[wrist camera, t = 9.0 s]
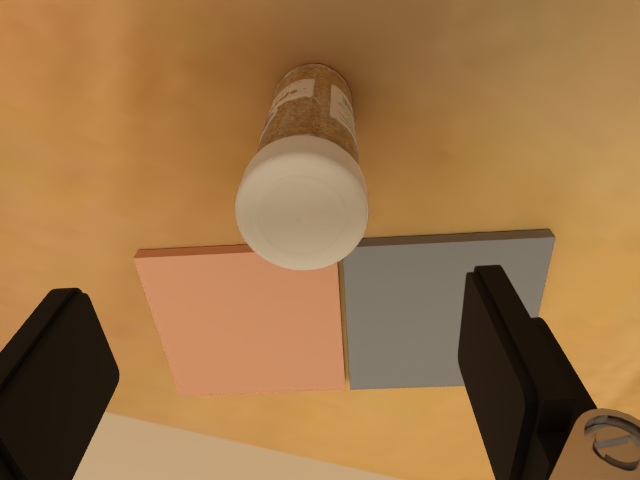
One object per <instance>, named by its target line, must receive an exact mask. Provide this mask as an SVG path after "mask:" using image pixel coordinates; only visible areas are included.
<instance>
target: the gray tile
mask: <svg viewBox="0 0 640 480" xmlns="http://www.w3.org/2000/svg"><path fill="white" fill-rule="evenodd" d="M554 242H555V236H554V234H553V233H552V232H551V231H550V229H542V230H522V231H503V232H483V233H463V234H444V235H424V236H405V237H385V238H366V239H361V240H360V242H359V243H358V245H357V246H356V247H355V248H354V250H353V251H352V252H351V253H350V254H349V255H347V256H346V257H344V258H343V268H344V285H345V303H346V321H347V339H348V357H349V375H350V390H357V389H386V388H416V387H445V386H465V384H464V381H463V378H462V375H461V372H460V369H459V364H458V346H459V336H460V327H461V318H462V308H463V299H464V289H465V280H466V274H467V273H468V272H473V271H474V268H475V266H482V265H501V266H502V267H503V269H504V271H505V273H506V274H507V276H508V278H509V280H510V282H511V283H512V285H513V287H514V289H515V290H516V292H517V294H518V296H519V297H520V299H521V301H522V303H523V304H524V306H525V308H526V310H527V311H528V313H529V315H530V317H531V318H534V317H538V314H539V309H540V305H541V300H542V296H543V291H544V287H545V282H546V278H547V273H548V269H549V264H550V260H551V255H552V251H553V246H554Z"/></svg>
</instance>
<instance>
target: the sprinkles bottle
mask: <svg viewBox="0 0 640 480" xmlns="http://www.w3.org/2000/svg"><path fill="white" fill-rule="evenodd" d="M368 216H369V207H368V195H367V187H366V182H365V178H364V175H363V173H362V171H361V169H360V167H359V152H358V145H357V138H356V130H355V122H354V115H353V110H352V95H351V92H350V90H349V87H348V85H347V83H346V81H345V80H344V79H343V78H342V77H341V76H340V75H339V74H338V73H337V72H336V71H334V70H332V69H331V68H329V67H327V66H325V65H322V64H306V65H301V66H299V67H296V68H294V69H292V70H291V71H289V72H288V73H287V74H286V75H285V76H284V77H283V78H282V79H281V81H280V82H279V84H278V85H277V87H276V90H275V94H274V97H273V103H272V106H271V108H270V111H269V114H268V117H267V121H266V124H265V127H264V130H263V133H262V136H261V138H260V142H259V148H258V151H257V154H256V155H255V156H254V157H253V158H252V159H251V161H250V162H249V164H248V166H247V167H246V170H245V172H244V174H243V177H242V180H241V182H240V185H239V188H238V192H237V196H236V201H235V217H236V222H237V225H238V228H239V231H240V233H241V235H242V237H243V239H244V240H245V242H246V243H247V244H248V245H249V247H250V248H251V249H252V250H253V251H254V252H255V253H257V254H258V255H259V256H260V257H262V258H263V259H265V260H266V261H268V262H270V263H272V264H275V265H277V266H280V267H283V268H287V269H292V270H315V269H320V268H324V267H327V266H330V265H332V264H334V263H336V262H338V261H340V260H342V259H343V258H344V257H346V256H347V255H349V254H350V253H351V252H352V251H353V250H354V248H355V247H356V246H357V245H358V243H359V242H360V240H361V239H362V237H363V235H364V233H365V230H366V227H367V223H368Z"/></svg>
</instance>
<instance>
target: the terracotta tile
mask: <svg viewBox="0 0 640 480" xmlns="http://www.w3.org/2000/svg"><path fill="white" fill-rule="evenodd" d="M133 259H134V262H135V265H136V268H137V271H138V274H139V277H140V280H141V283H142V286H143V289H144V292H145V295H146V298H147V301H148V304H149V307H150V310H151V313H152V316H153V319H154V322H155V324H156V327H157V330H158V333H159V336H160V339H161V342H162V345H163V348H164V351H165V354H166V357H167V360H168V363H169V366H170V369H171V372H172V375H173V378H174V381H175V384H176V387H177V390H178V393H179V396H182V395H211V394H240V393H269V392H299V391H328V390H345V372H344V356H343V340H342V325H341V309H340V293H339V277H338V262H336V263H334V264H332V265H330V266H327V267H324V268H320V269H315V270H292V269H287V268H283V267H280V266H277V265H275V264H272V263H270V262H268V261H266V260H265V259H263V258H262V257H260V256H259V255H258V254H257V253H255V252H254V251H253V250H252V249H251V248H250V247H249V245H229V246H209V247H190V248H170V249H151V250H138V251H137V253H136V255H135V256H134V258H133Z"/></svg>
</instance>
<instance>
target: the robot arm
mask: <svg viewBox="0 0 640 480" xmlns="http://www.w3.org/2000/svg"><path fill="white" fill-rule="evenodd" d="M458 364H459V369H460V372H461V375H462V378H463V381H464V384H465V387H466V390H467V393H468V396H469V399H470V402H471V405H472V409H473V412H474V415H475V418H476V421H477V424H478V427H479V430H480V433H481V436H482V439H483V442H484V445H485V448H486V451H487V455H488V458H489V461H490V464H491V467H492V470H493V473H494V476H495V479H496V480H640V420H638V419H636V418H634V417H633V416H631V415H629V414H626V413H623V412H620V411H617V410H611V409H603V408H601V409H597V407H596V405H595V404H594V402H593V400H592V399H591V397H590V395H589V394H588V392H587V390H586V389H585V387H584V385H583V384H582V382H581V380H580V379H579V377H578V375H577V374H576V372H575V370H574V369H573V367H572V365H571V364H570V362H569V360H568V359H567V357H566V355H565V354H564V352H563V350H562V349H561V347H560V345H559V344H558V342H557V340H556V339H555V337H554V335H553V334H552V332H551V330H550V329H549V327H548V325H547V324H546V322H545V321H544V320H543V319H542V318H540V317H534V318H531V317H530V315H529V313H528V311H527V310H526V308H525V306H524V304H523V303H522V301H521V299H520V297H519V296H518V294H517V292H516V290H515V289H514V287H513V285H512V283H511V282H510V280H509V278H508V276H507V274H506V273H505V271H504V269H503V267H502V266H501V265H482V266H475V268H474V271H473V272H468V273H467V274H466V280H465V289H464V299H463V308H462V318H461V327H460V336H459V346H458ZM118 382H119V369H118V366H117V364H116V361H115V359H114V357H113V354H112V352H111V349H110V347H109V344H108V342H107V339H106V337H105V334H104V332H103V330H102V327H101V325H100V322H99V320H98V317H97V315H96V312H95V310H94V307H93V305H92V302H91V300H90V298H89V296H88V295H87V294H86V293H82V291H81V290H80V289H79V288H61V289H53V290H51V291H50V292H49V293H48V294H47V295H46V297H45V298H44V299H43V300H42V302H41V303H40V304H39V305H38V307H37V308H36V309H35V310H34V311H33V313H32V314H31V315H30V316H29V318H28V319H27V320H26V321H25V323H24V324H23V325H22V326H21V328H20V329H19V330H18V331H17V333H16V334H15V335H14V336H13V337H12V339H11V340H10V341H9V342H8V344H7V345H6V346H5V347H4V349H3V350H2V351H1V352H0V480H72V479H73V477H74V475H75V472H76V470H77V468H78V466H79V464H80V462H81V460H82V458H83V456H84V454H85V452H86V449H87V447H88V445H89V443H90V441H91V439H92V437H93V435H94V433H95V431H96V429H97V426H98V424H99V422H100V420H101V418H102V416H103V414H104V412H105V410H106V408H107V406H108V403H109V401H110V399H111V397H112V395H113V393H114V391H115V389H116V387H117V385H118Z"/></svg>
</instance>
